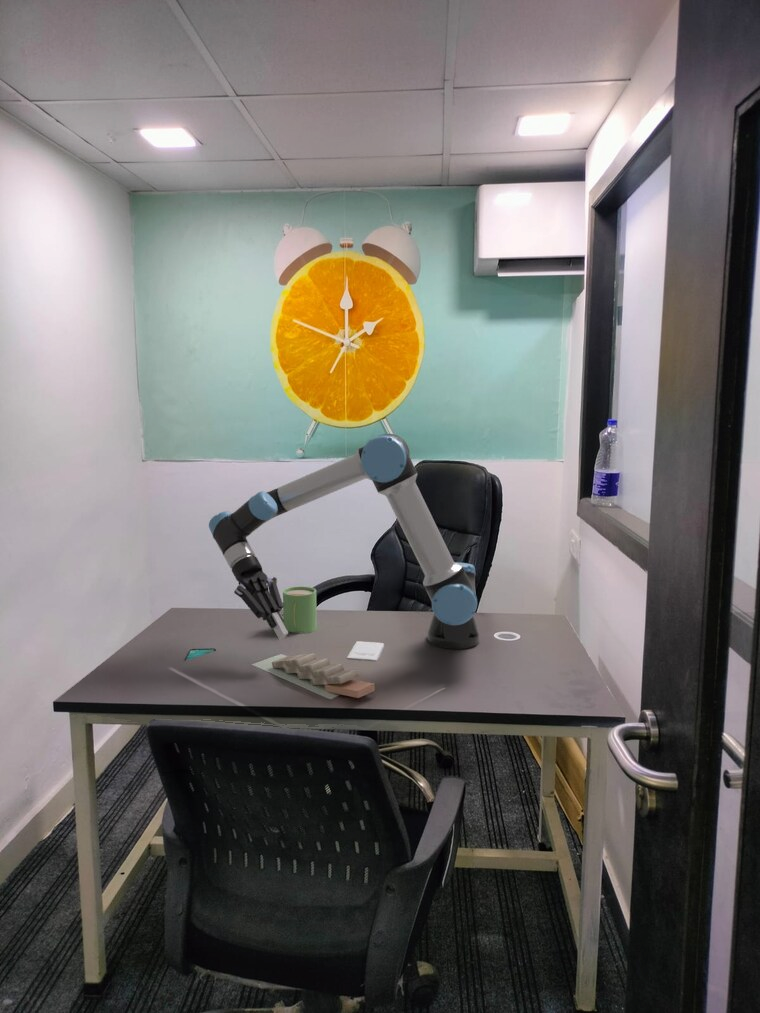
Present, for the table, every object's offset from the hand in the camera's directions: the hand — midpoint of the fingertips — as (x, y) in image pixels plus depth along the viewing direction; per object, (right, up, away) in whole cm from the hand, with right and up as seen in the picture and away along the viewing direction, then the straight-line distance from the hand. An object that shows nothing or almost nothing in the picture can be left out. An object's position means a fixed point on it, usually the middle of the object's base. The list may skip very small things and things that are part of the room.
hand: (283, 636), depth 166 cm
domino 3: (+6, -8, -5) cm, 11 cm away
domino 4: (+10, -9, -8) cm, 15 cm away
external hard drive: (+21, -8, +12) cm, 26 cm away
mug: (0, -4, +31) cm, 31 cm away
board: (+5, -9, -4) cm, 12 cm away
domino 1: (-1, -7, +2) cm, 7 cm away
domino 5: (+14, -9, -11) cm, 20 cm away
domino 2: (+3, -8, -1) cm, 8 cm away
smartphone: (-24, -8, +7) cm, 26 cm away
